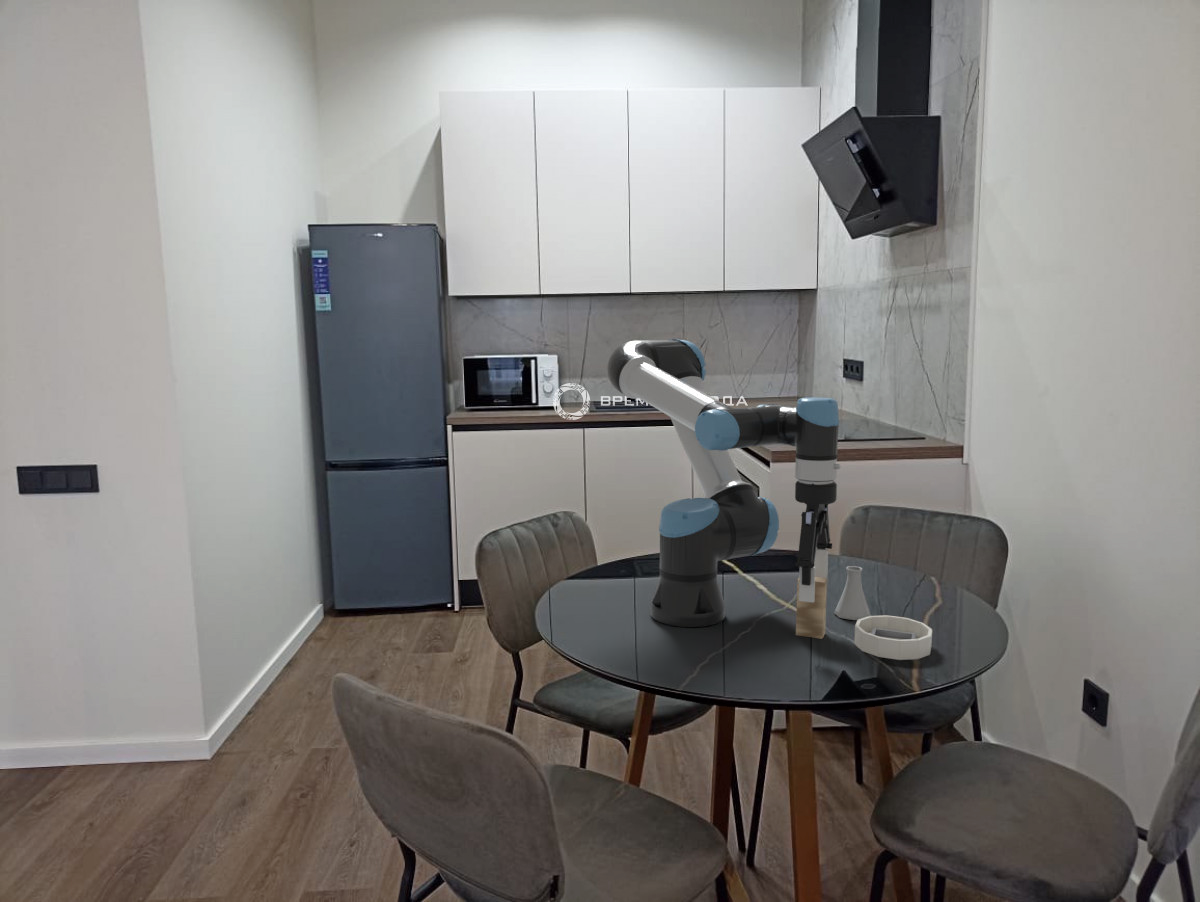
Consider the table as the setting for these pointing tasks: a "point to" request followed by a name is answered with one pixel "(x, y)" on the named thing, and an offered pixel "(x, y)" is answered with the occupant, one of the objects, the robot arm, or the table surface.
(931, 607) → the table surface
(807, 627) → the wooden block
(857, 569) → the flask
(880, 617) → the white round dish
